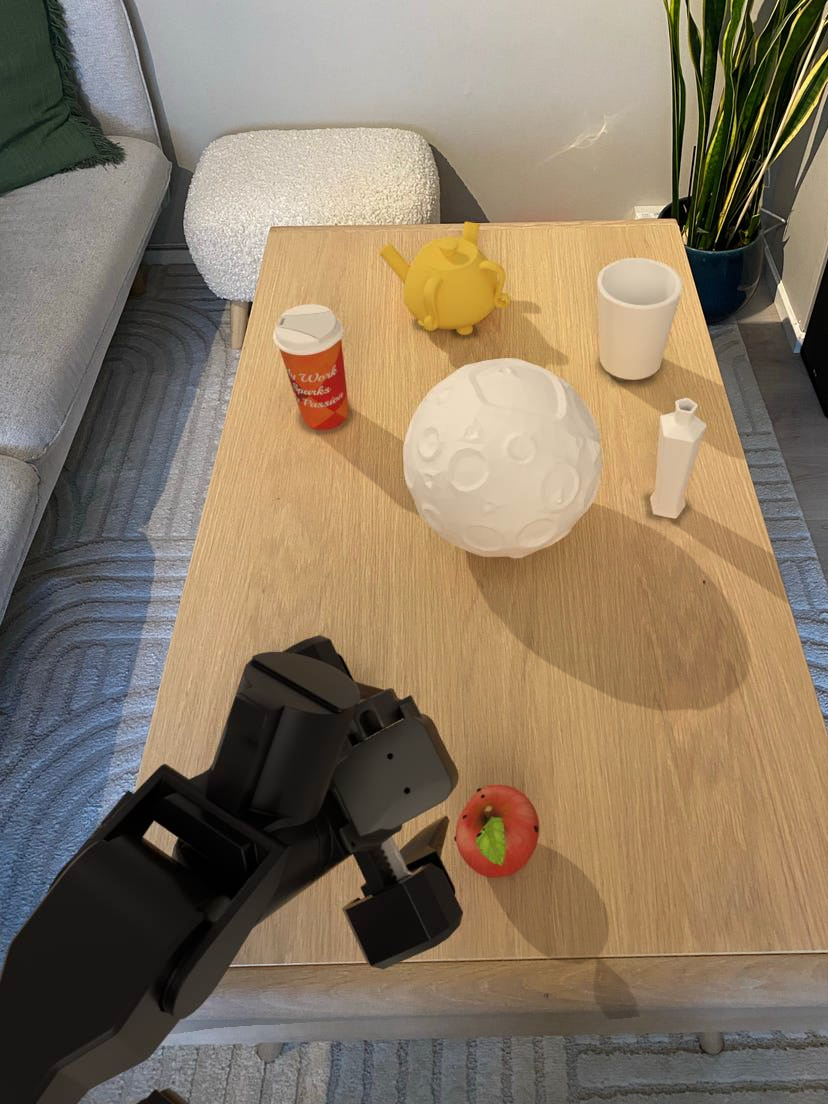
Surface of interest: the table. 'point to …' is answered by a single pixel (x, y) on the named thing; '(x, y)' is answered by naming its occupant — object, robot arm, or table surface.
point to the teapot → (450, 282)
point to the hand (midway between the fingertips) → (411, 756)
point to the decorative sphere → (502, 458)
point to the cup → (635, 315)
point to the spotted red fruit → (497, 831)
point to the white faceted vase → (676, 457)
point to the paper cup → (314, 363)
